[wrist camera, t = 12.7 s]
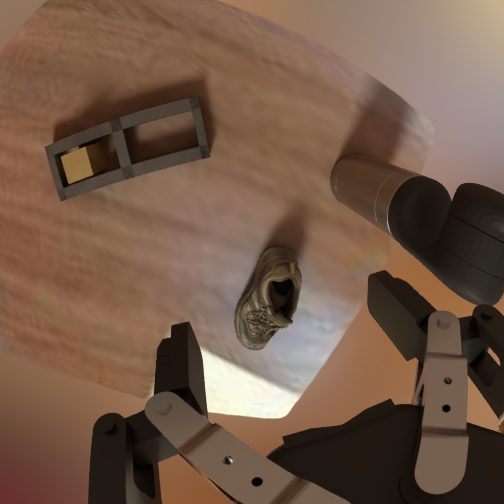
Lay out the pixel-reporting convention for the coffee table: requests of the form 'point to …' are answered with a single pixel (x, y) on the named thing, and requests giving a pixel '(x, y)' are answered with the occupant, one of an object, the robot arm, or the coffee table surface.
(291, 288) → the hiking shoe
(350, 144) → the coffee table surface
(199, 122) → the dark grey rectangular tray
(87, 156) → the block
